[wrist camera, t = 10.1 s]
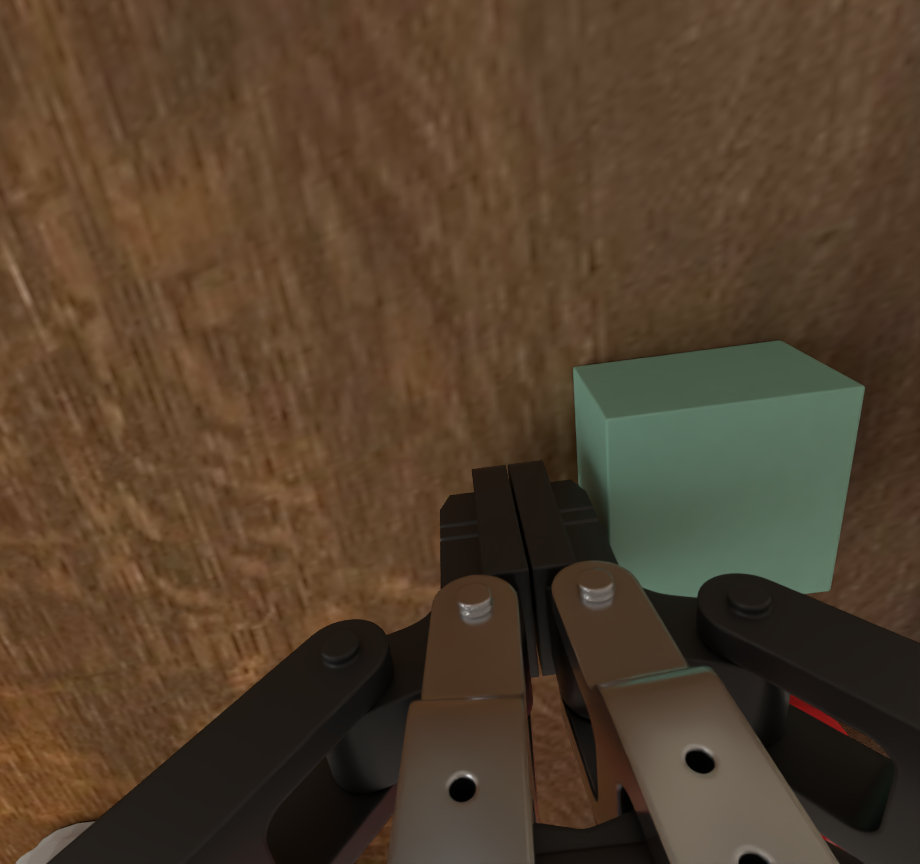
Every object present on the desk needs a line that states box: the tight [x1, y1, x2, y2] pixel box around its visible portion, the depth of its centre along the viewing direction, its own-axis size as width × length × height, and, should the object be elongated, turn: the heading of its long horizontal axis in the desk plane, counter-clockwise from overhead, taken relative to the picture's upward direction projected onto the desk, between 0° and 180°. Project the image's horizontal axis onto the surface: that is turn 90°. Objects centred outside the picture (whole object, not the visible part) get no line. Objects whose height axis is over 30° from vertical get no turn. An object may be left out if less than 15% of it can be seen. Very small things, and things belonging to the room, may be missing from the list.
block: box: [573, 340, 865, 598], centre depth 12 cm, size 4×4×3 cm
